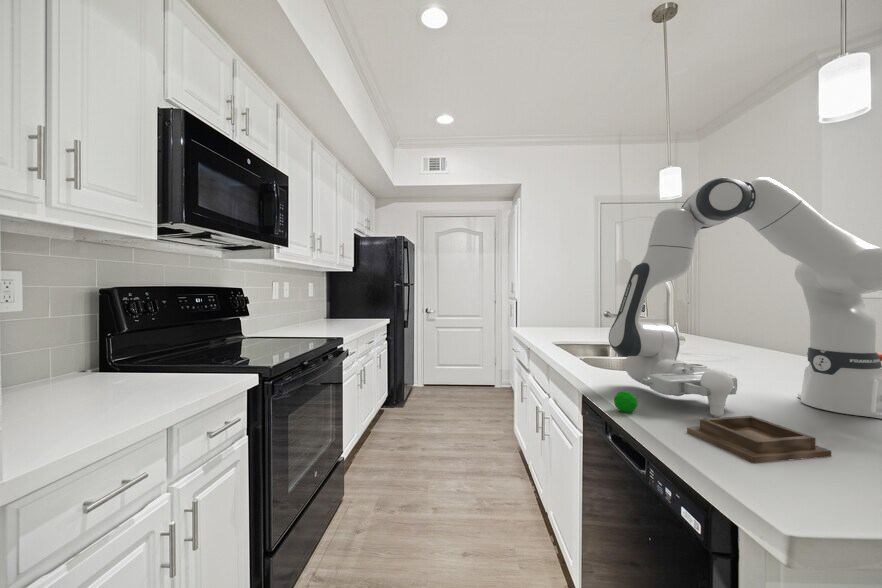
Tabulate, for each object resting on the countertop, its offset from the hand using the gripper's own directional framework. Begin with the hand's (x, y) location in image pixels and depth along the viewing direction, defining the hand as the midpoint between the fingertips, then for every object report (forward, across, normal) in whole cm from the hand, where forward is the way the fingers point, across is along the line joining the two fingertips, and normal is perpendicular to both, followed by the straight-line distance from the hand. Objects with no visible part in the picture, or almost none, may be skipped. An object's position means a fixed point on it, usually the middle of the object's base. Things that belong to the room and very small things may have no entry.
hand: (720, 391), depth 86 cm
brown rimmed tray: (+13, -6, +6) cm, 16 cm away
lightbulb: (-1, 0, +6) cm, 6 cm away
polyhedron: (-8, -18, +6) cm, 21 cm away
